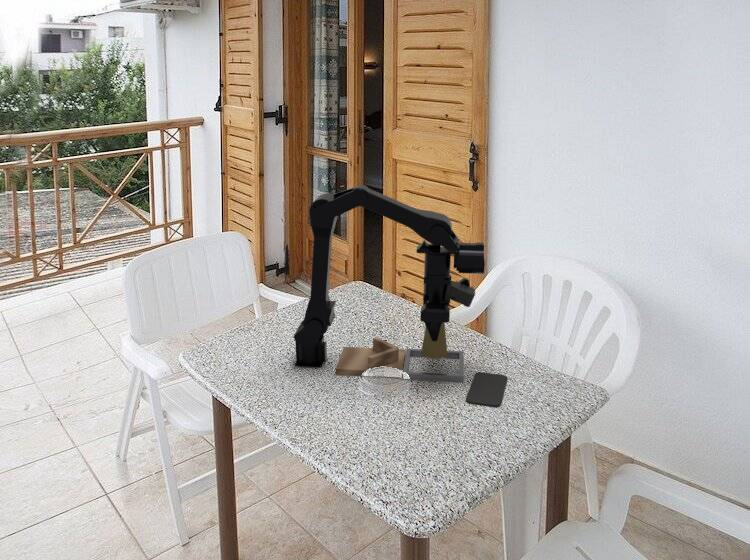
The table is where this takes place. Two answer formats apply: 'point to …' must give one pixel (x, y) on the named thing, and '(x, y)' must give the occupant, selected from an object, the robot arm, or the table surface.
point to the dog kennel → (370, 358)
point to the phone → (487, 389)
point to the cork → (435, 344)
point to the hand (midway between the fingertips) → (434, 336)
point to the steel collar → (435, 376)
